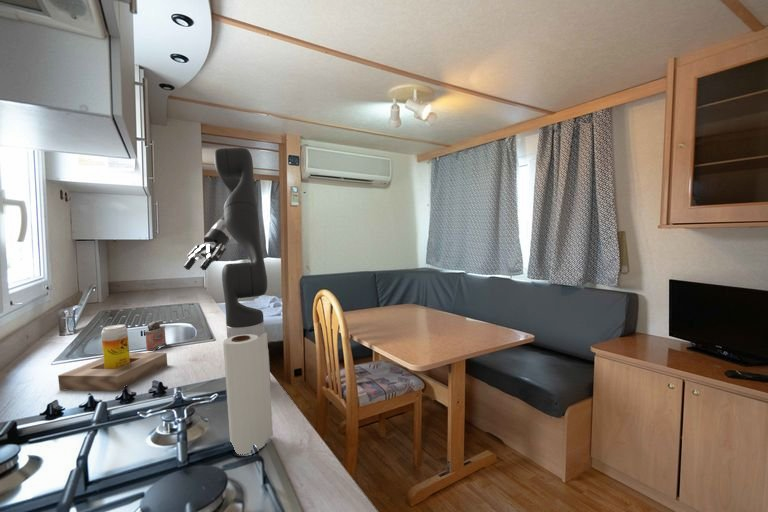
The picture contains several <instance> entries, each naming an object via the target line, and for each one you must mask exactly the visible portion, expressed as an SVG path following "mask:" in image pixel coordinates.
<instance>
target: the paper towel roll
mask: <svg viewBox="0 0 768 512" xmlns="http://www.w3.org/2000/svg"><path fill="white" fill-rule="evenodd" d="M222 342H223V343H222V345H223V357H224V371H225V386H226V401H227V416H228V431H229V432H228V433H229V443H230V442H231V443H232V445H233V447H234V450H235V452H236V453H237V454H239V455H240V454H241V455H242V454H243V455H244V454H247V453H250V452H251V450H252V447H253V445H254V444H255V445H256V446H257V447H260V446H261V445H262V444H263V443H264V442H265V441H266V440H267V439H268V438H269V439H271V437H272V436H274V433H273V432H274V431H273V414H272V397H271V395H272V394H271V377H270V378H269V367H270V360H269V361H268V350H269V348H268V332H264V334H262V335H261V336H260V337H259V338H258V336H257V335H252V334H244V335H237V336H233V337H230V338H227V337H226V338H225V339H224V340H223V341H222Z"/></svg>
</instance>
